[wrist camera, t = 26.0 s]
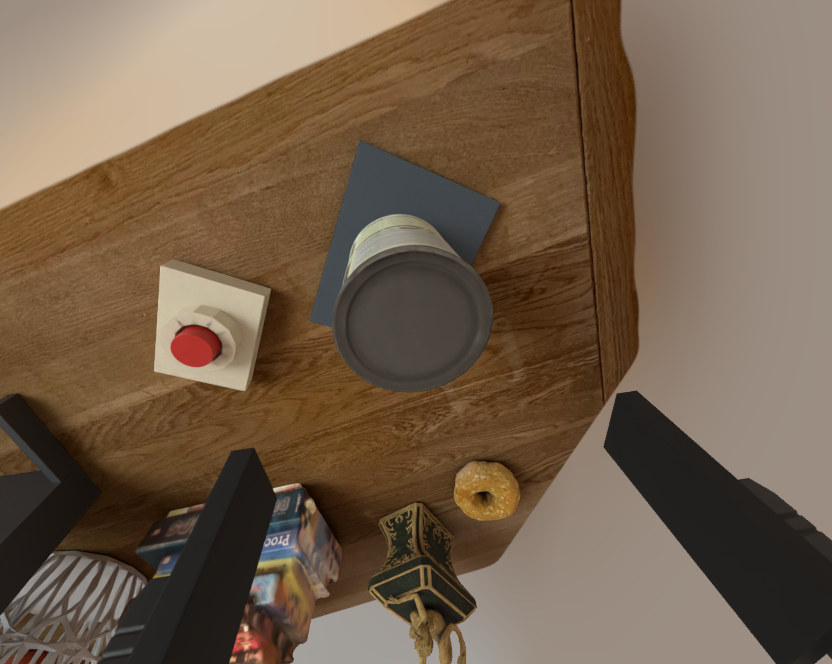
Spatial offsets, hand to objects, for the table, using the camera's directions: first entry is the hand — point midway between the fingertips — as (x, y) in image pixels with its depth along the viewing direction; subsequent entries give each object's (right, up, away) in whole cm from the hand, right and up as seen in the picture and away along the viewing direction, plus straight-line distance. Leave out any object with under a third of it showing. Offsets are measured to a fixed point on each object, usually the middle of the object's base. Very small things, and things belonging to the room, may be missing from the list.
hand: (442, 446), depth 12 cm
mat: (-3, +11, +22) cm, 25 cm away
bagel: (+9, -19, +39) cm, 44 cm away
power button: (-22, +3, +20) cm, 30 cm away
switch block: (-22, +5, +23) cm, 32 cm away
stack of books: (-25, -26, +39) cm, 54 cm away
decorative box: (0, -30, +44) cm, 54 cm away
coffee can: (-3, +11, +21) cm, 24 cm away
